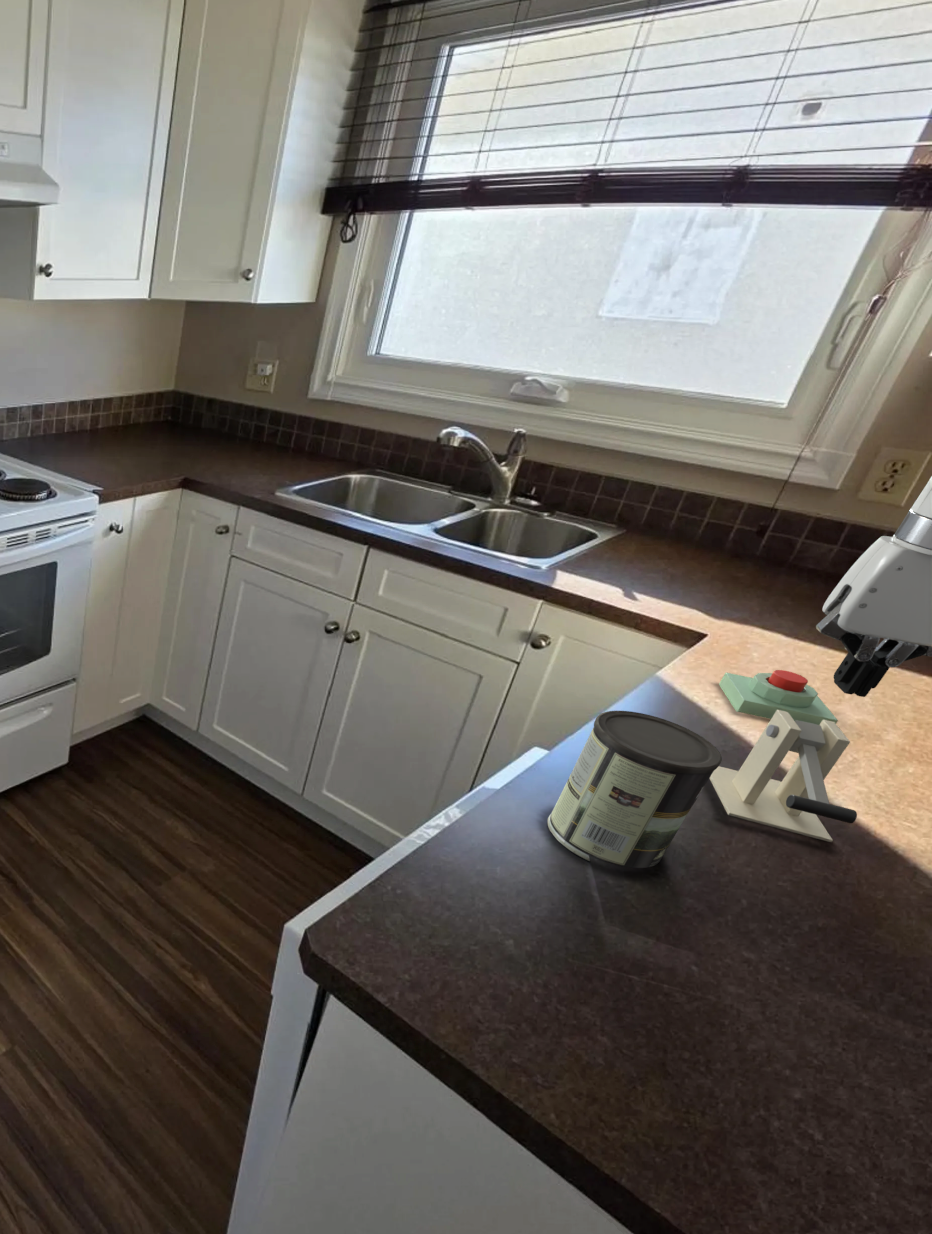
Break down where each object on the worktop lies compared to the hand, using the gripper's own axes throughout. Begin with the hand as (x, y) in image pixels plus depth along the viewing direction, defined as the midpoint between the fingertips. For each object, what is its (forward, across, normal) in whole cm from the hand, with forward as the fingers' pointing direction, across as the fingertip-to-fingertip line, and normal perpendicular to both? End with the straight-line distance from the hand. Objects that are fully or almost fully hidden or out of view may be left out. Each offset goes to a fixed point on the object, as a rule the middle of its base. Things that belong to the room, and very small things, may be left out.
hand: (848, 689), depth 87 cm
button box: (+15, -7, -26) cm, 31 cm away
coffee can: (+15, +21, +20) cm, 33 cm away
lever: (+8, +3, +8) cm, 12 cm away
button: (+12, -7, -26) cm, 29 cm away
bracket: (+15, +3, +4) cm, 16 cm away
